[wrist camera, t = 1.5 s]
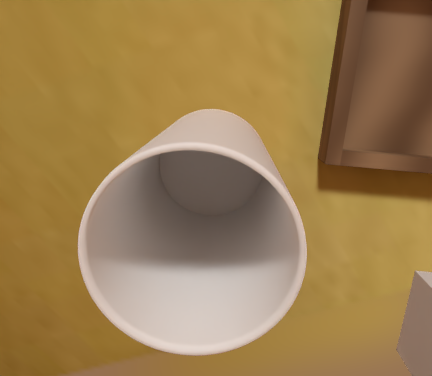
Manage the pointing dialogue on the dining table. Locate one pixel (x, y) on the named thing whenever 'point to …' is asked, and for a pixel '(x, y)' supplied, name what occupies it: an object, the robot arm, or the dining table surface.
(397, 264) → the dining table surface
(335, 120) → the square wooden tray
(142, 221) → the cup
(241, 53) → the dining table surface
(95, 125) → the dining table surface
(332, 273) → the dining table surface
